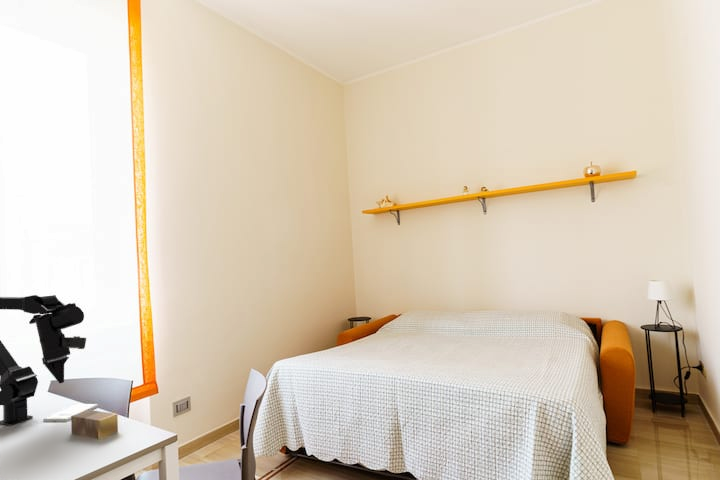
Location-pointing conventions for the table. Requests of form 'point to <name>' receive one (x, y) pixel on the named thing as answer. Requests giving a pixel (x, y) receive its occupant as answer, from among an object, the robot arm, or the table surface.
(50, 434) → the table surface
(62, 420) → the external hard drive
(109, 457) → the table surface
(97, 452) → the table surface
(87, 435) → the walnut block
